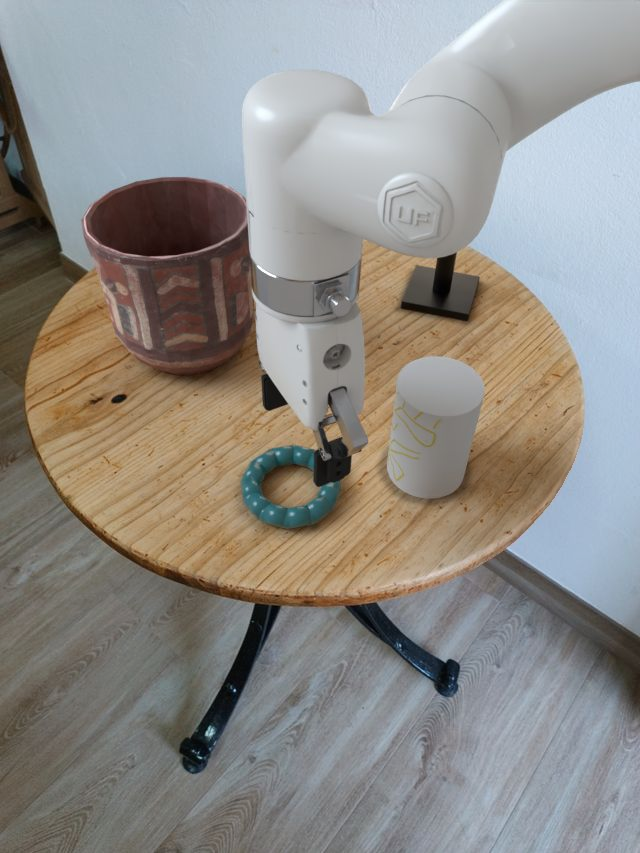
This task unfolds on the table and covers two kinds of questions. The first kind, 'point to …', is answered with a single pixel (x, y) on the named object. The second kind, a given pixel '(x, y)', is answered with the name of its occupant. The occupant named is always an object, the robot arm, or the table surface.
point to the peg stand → (441, 290)
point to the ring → (279, 513)
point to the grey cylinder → (433, 425)
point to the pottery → (174, 270)
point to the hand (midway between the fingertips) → (304, 439)
